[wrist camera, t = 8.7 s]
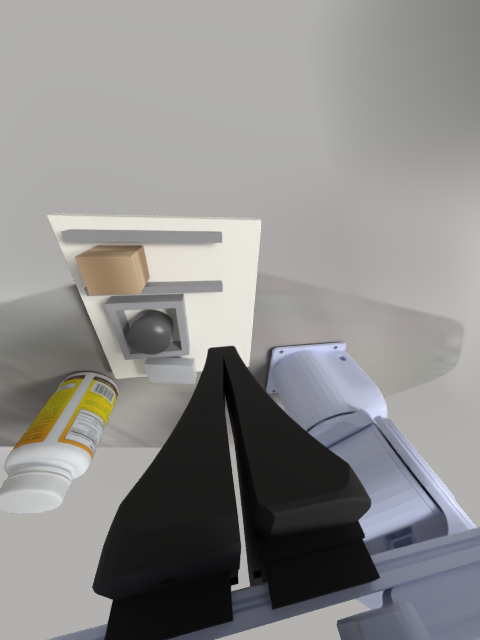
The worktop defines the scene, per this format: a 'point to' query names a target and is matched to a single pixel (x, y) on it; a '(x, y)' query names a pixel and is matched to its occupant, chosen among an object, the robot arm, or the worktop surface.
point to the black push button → (150, 332)
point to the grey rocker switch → (171, 370)
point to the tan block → (114, 269)
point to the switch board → (171, 282)
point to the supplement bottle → (58, 444)
